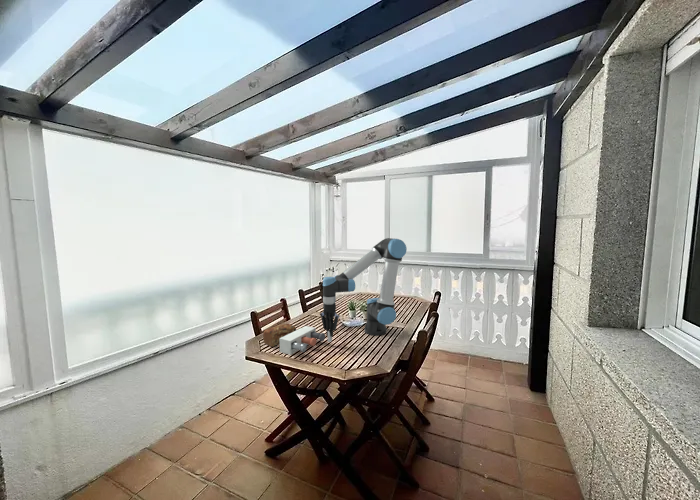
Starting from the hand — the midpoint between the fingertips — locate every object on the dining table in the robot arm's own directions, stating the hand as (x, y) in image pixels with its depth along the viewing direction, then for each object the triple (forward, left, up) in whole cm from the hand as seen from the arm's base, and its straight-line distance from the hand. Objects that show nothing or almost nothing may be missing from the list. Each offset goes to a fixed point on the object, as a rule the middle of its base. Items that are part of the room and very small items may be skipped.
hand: (329, 341), depth 174 cm
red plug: (+11, +9, -1) cm, 14 cm away
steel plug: (+11, +18, -1) cm, 21 cm away
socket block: (+17, +9, -3) cm, 19 cm away
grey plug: (+11, 0, -1) cm, 11 cm away
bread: (+32, +9, -3) cm, 33 cm away
